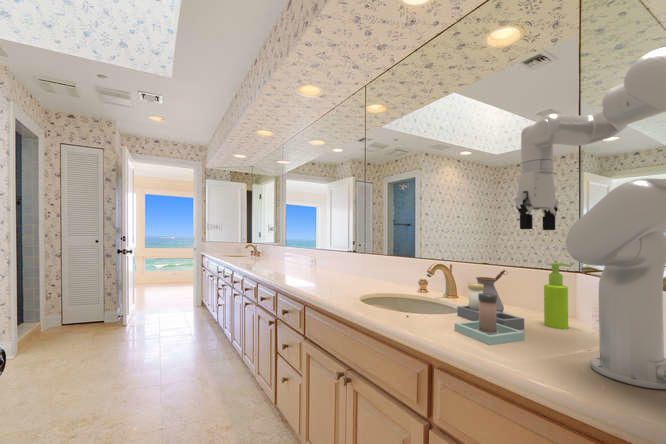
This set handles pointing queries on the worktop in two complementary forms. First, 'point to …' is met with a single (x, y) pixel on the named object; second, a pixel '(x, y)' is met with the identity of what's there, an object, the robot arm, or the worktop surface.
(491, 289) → the coffee pot
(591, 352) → the worktop surface
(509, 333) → the parts tray
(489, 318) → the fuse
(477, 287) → the fuse
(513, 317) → the fuse holder
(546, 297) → the soap dispenser
